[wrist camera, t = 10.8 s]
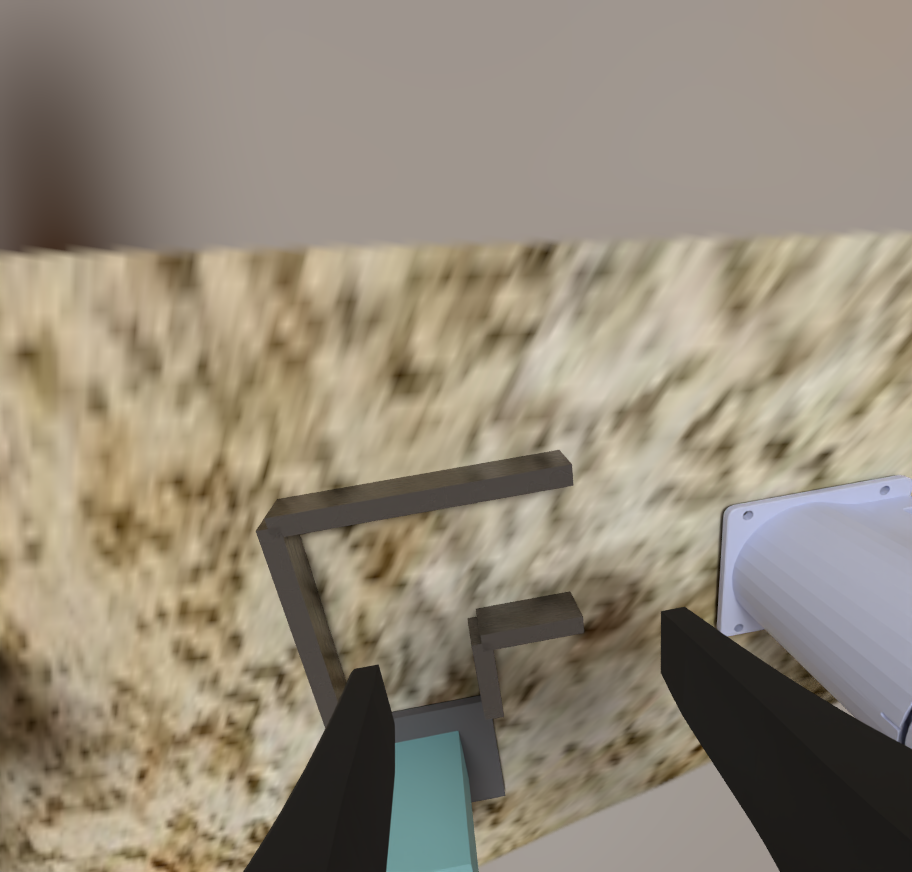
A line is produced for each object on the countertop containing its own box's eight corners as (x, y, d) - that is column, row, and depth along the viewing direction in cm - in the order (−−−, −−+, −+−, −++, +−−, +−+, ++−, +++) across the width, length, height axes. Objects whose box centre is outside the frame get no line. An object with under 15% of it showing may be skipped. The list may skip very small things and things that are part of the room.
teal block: (458, 730, 24) (470, 863, 19) (468, 778, 26) (483, 915, 20) (388, 744, 24) (379, 882, 19) (402, 791, 26) (397, 933, 20)
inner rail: (569, 589, 23) (582, 616, 21) (575, 668, 25) (588, 700, 23) (465, 608, 23) (470, 637, 21) (479, 686, 24) (485, 720, 22)
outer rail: (557, 447, 20) (571, 464, 18) (574, 667, 25) (587, 698, 23) (267, 498, 20) (251, 520, 18) (338, 712, 24) (332, 747, 22)
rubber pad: (488, 693, 24) (488, 700, 24) (504, 788, 27) (505, 795, 27) (346, 721, 24) (345, 727, 24) (376, 813, 27) (376, 821, 26)
